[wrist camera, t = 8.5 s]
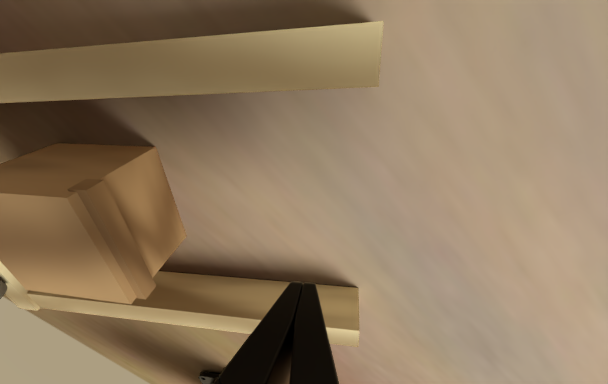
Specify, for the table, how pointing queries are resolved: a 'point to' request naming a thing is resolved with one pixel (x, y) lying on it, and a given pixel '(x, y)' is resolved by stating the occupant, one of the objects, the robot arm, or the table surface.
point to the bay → (193, 81)
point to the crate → (88, 220)
